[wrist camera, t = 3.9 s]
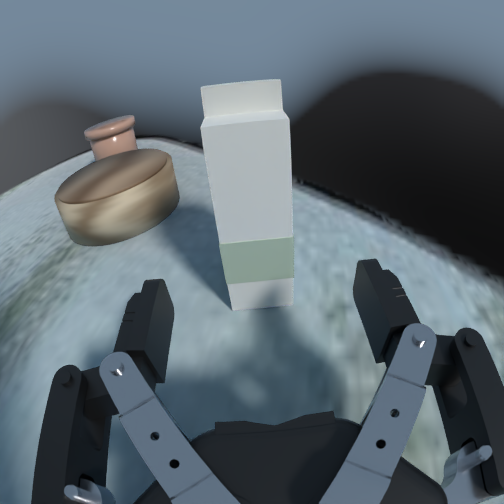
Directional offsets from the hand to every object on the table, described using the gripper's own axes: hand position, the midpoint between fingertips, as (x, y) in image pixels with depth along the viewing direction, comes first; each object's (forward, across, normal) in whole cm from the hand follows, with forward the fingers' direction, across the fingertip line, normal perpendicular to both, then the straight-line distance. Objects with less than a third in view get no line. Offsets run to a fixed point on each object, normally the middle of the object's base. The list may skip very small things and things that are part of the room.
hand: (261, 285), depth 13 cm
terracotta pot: (+35, +20, +7) cm, 41 cm away
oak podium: (+21, +15, +7) cm, 27 cm away
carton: (+7, 0, +7) cm, 10 cm away
